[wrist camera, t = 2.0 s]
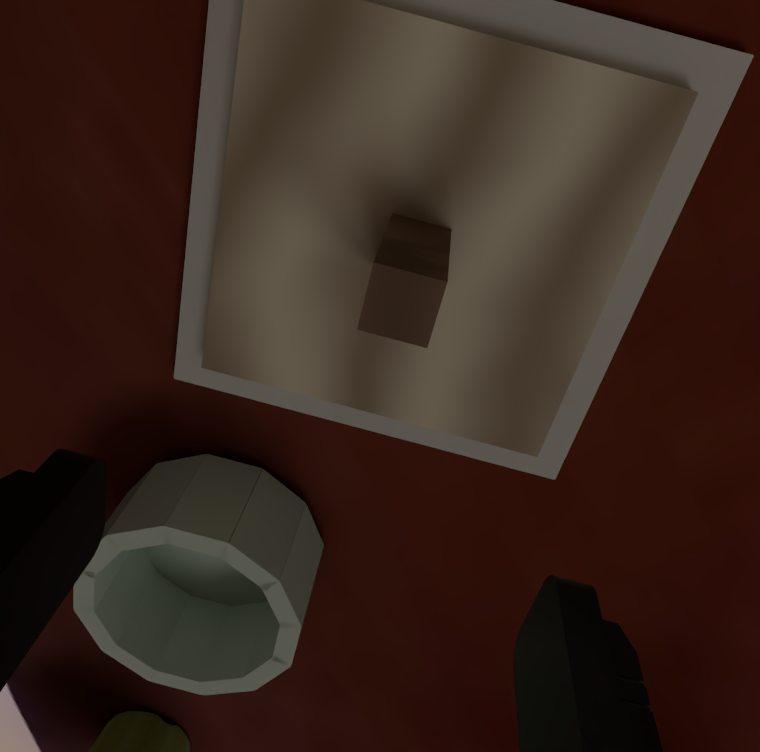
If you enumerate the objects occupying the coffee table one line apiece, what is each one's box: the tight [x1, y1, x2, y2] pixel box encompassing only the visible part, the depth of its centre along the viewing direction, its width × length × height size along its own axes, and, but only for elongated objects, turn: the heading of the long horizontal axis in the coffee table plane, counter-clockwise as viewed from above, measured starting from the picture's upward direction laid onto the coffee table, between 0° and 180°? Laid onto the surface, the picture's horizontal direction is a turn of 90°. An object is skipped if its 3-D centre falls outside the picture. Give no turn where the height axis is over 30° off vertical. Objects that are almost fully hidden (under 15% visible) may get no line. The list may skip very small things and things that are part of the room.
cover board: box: [201, 0, 699, 457], centre depth 24 cm, size 16×16×7 cm
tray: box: [174, 0, 754, 480], centre depth 27 cm, size 19×19×1 cm
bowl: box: [74, 454, 324, 695], centre depth 34 cm, size 11×11×6 cm
